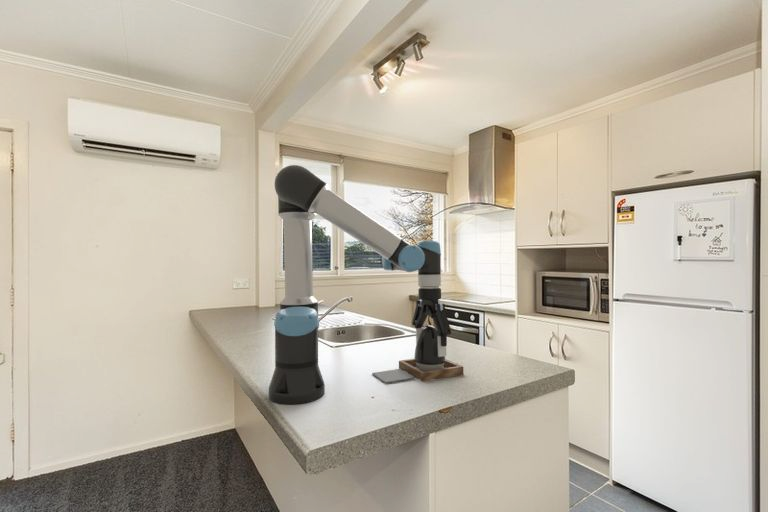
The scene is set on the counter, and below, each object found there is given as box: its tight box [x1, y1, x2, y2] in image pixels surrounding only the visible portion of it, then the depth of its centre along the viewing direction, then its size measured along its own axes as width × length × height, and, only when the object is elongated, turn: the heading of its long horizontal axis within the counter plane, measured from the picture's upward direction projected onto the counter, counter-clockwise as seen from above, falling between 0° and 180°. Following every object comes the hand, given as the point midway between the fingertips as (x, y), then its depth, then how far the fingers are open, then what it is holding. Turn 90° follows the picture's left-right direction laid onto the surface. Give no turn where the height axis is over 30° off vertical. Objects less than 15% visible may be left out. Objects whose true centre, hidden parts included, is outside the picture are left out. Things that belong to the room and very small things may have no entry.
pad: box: [371, 368, 416, 385], centre depth 118 cm, size 10×10×1 cm
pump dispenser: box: [413, 324, 446, 372], centre depth 123 cm, size 10×10×15 cm
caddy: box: [398, 358, 464, 382], centre depth 123 cm, size 15×15×2 cm
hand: (430, 351), depth 124 cm, fingers open, 13 cm apart
